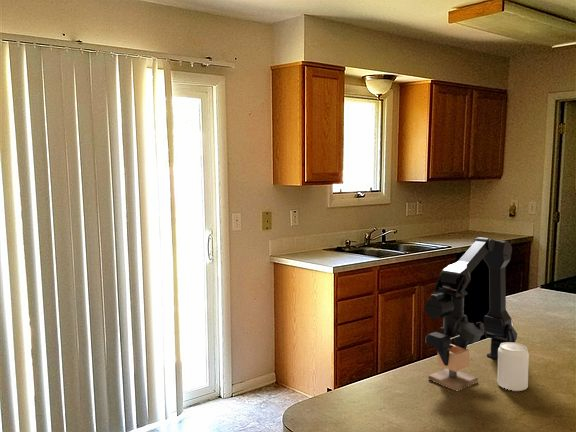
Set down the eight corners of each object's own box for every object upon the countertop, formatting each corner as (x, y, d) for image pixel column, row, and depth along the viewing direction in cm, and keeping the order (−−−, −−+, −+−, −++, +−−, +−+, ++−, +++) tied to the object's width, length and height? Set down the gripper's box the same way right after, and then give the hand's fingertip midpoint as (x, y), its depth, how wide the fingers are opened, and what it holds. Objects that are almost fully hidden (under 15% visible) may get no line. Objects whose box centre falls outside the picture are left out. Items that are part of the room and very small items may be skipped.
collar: (450, 359, 158) (451, 344, 158) (469, 366, 153) (469, 349, 152) (437, 365, 154) (437, 348, 154) (455, 371, 149) (455, 355, 149)
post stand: (449, 371, 161) (449, 351, 160) (477, 382, 153) (477, 361, 152) (428, 380, 155) (428, 359, 155) (456, 391, 147) (456, 369, 147)
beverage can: (510, 394, 145) (510, 353, 143) (491, 382, 152) (492, 343, 151) (534, 390, 147) (535, 349, 146) (514, 379, 155) (515, 340, 153)
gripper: (456, 324, 140) (456, 379, 142) (496, 311, 151) (495, 362, 152) (424, 315, 149) (424, 367, 151) (464, 303, 160) (463, 352, 161)
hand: (453, 362), depth 154 cm, fingers closed on collar, 6 cm apart
